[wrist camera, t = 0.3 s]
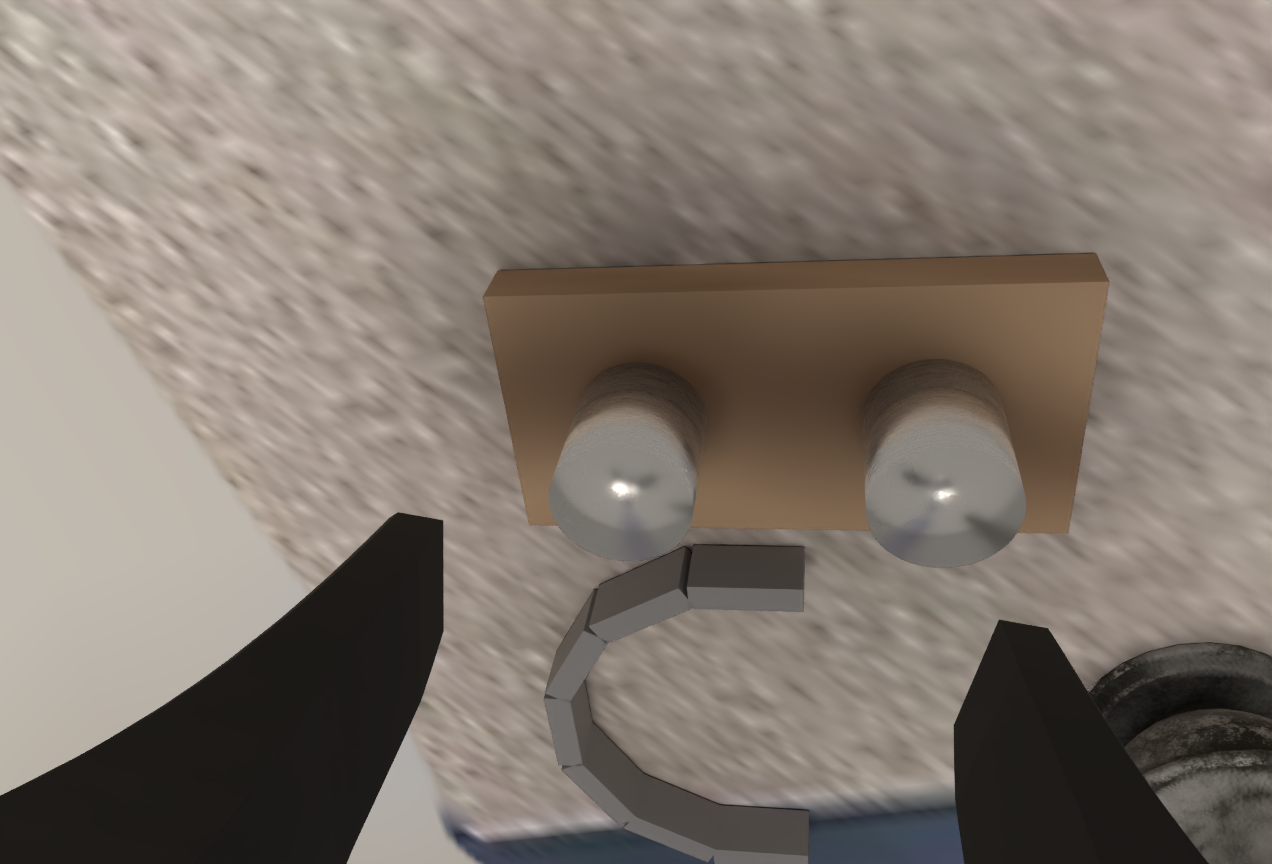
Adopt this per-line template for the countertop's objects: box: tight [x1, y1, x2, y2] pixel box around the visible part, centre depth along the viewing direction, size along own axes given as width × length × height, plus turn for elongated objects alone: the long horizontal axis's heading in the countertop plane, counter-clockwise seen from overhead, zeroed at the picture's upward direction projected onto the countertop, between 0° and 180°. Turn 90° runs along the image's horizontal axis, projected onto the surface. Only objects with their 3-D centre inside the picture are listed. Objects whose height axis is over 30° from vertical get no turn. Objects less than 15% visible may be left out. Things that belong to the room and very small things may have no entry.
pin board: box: [483, 253, 1109, 568], centre depth 22 cm, size 6×12×4 cm, turn 96°
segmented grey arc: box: [544, 545, 809, 864], centre depth 29 cm, size 11×7×2 cm, turn 6°
